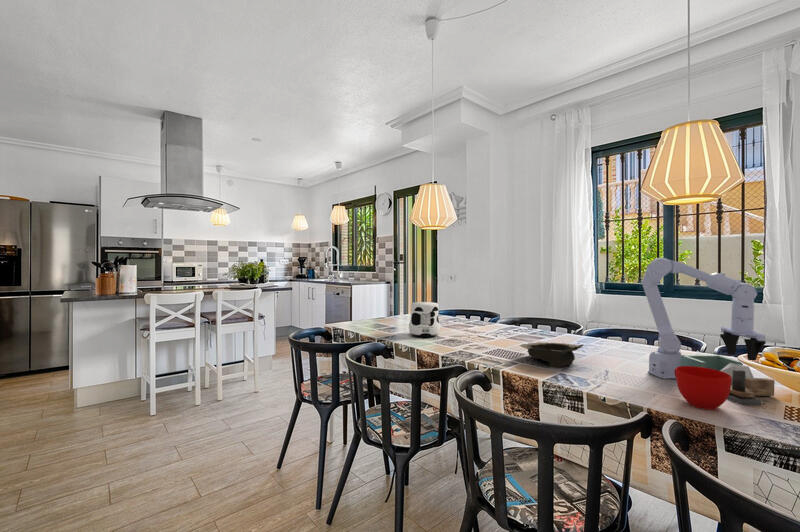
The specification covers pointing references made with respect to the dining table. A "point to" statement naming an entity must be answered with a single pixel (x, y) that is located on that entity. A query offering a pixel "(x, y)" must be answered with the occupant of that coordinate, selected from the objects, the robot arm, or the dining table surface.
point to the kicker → (750, 385)
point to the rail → (745, 400)
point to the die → (731, 366)
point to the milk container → (424, 319)
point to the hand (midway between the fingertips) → (741, 357)
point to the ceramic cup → (703, 386)
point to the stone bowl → (552, 352)
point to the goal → (707, 361)
